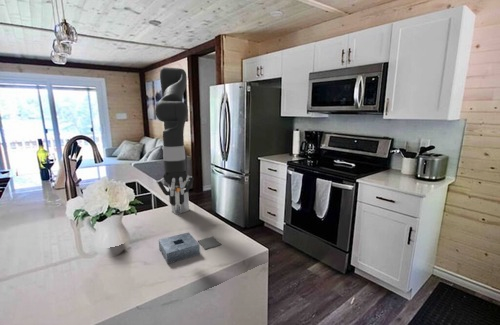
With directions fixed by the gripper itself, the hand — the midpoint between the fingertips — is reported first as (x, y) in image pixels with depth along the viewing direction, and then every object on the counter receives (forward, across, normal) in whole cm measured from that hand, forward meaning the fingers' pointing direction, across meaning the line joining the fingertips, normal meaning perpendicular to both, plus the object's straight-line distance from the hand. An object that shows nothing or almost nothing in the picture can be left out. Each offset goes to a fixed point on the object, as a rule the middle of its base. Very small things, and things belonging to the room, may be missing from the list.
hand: (176, 204), depth 96 cm
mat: (+19, -12, 0) cm, 23 cm away
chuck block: (+19, 0, 0) cm, 19 cm away
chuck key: (+4, 0, 0) cm, 4 cm away
